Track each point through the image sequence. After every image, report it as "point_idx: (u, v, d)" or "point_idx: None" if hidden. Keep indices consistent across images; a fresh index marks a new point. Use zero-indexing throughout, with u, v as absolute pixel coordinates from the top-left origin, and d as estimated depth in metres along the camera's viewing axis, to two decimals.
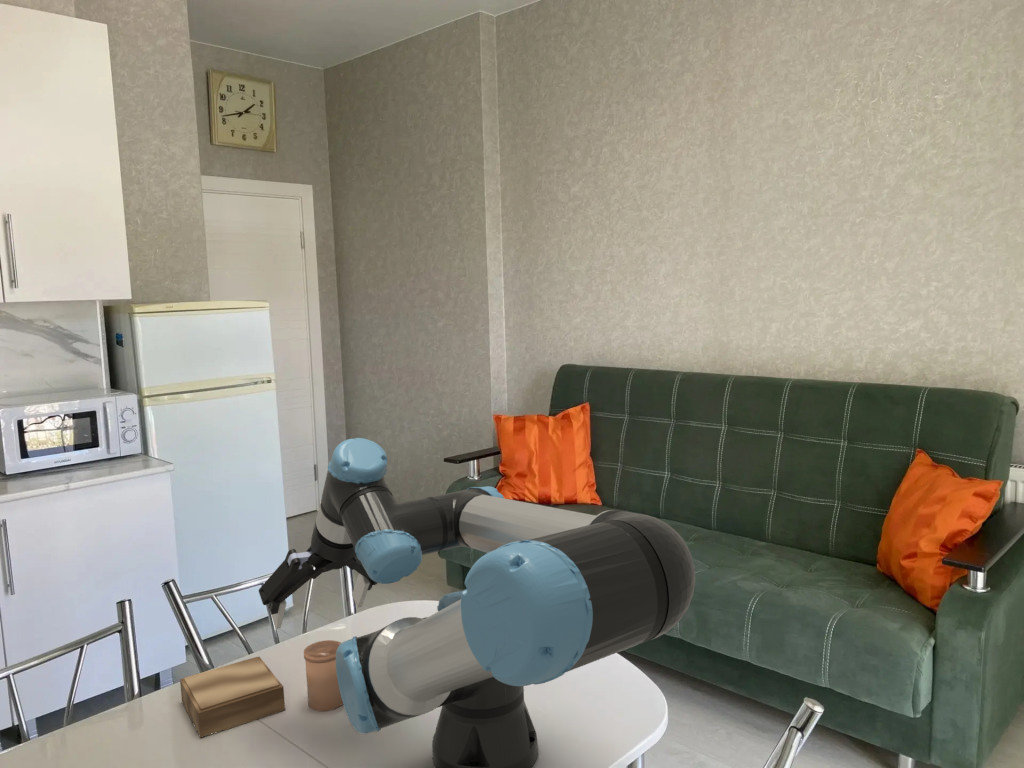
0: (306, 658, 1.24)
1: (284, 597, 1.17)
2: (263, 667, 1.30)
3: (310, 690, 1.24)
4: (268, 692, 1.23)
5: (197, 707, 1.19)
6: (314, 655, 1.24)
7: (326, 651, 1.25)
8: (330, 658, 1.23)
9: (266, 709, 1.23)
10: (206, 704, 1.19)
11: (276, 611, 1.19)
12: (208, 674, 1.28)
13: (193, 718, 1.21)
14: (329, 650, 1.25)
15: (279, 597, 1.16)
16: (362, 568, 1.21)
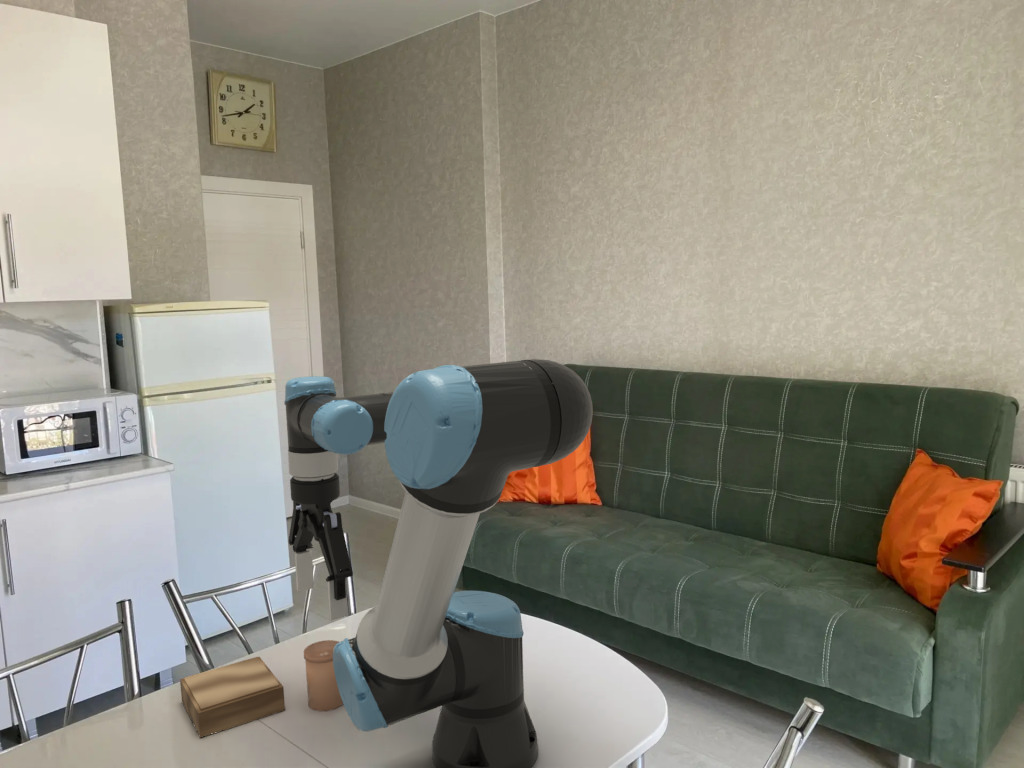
0: (306, 658, 1.24)
1: (295, 545, 1.29)
2: (263, 667, 1.30)
3: (310, 690, 1.24)
4: (268, 692, 1.23)
5: (197, 707, 1.19)
6: (314, 655, 1.24)
7: (326, 651, 1.25)
8: (330, 658, 1.23)
9: (266, 709, 1.23)
10: (206, 704, 1.19)
11: None
12: (208, 674, 1.28)
13: (193, 718, 1.21)
14: (329, 650, 1.25)
15: None
16: (323, 548, 1.19)
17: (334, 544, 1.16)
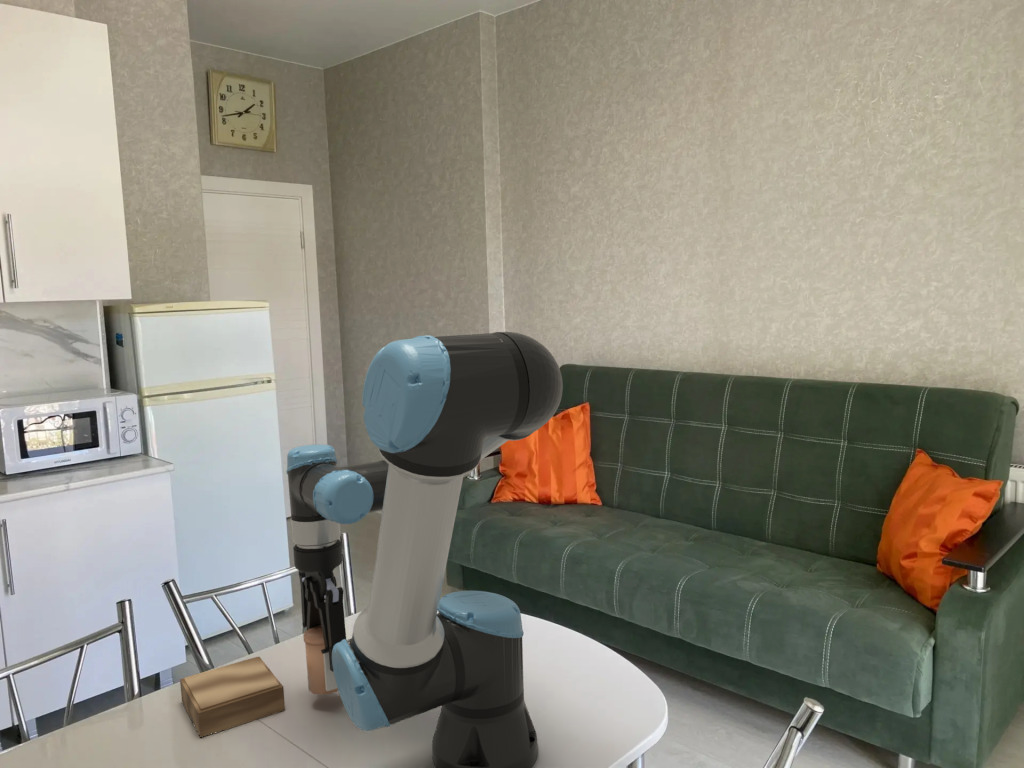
0: (306, 641, 1.23)
1: (308, 625, 1.28)
2: (263, 667, 1.30)
3: (310, 673, 1.23)
4: (268, 692, 1.23)
5: (197, 707, 1.19)
6: (314, 638, 1.23)
7: None
8: None
9: (266, 709, 1.23)
10: (206, 704, 1.19)
11: None
12: (208, 674, 1.28)
13: (193, 718, 1.21)
14: None
15: (307, 625, 1.28)
16: (322, 619, 1.22)
17: (333, 619, 1.19)
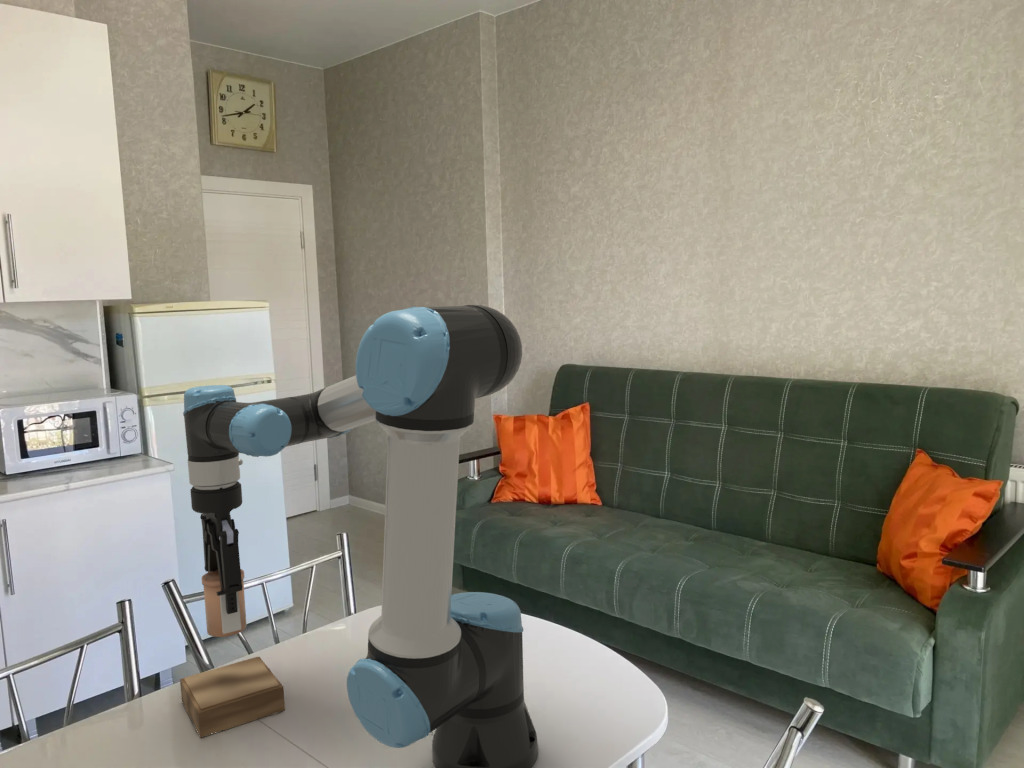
0: (203, 583, 1.22)
1: (208, 569, 1.26)
2: (263, 667, 1.30)
3: (208, 615, 1.22)
4: (268, 692, 1.23)
5: (197, 707, 1.19)
6: (211, 580, 1.22)
7: None
8: None
9: (266, 709, 1.23)
10: (206, 704, 1.19)
11: None
12: (208, 674, 1.28)
13: (193, 718, 1.21)
14: None
15: None
16: (218, 561, 1.20)
17: (227, 561, 1.18)
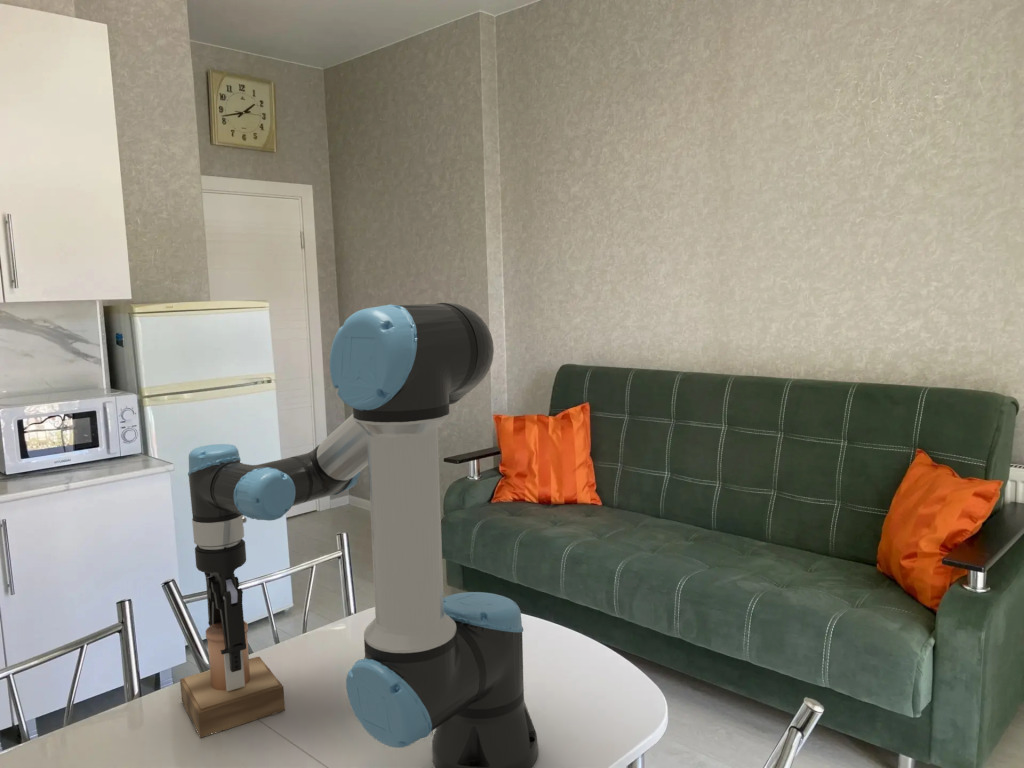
0: (207, 637, 1.23)
1: (212, 624, 1.27)
2: (263, 667, 1.30)
3: (212, 669, 1.23)
4: (268, 692, 1.23)
5: (197, 707, 1.19)
6: (215, 634, 1.23)
7: None
8: None
9: (266, 709, 1.23)
10: (206, 704, 1.19)
11: None
12: (208, 674, 1.28)
13: (193, 718, 1.21)
14: None
15: (212, 624, 1.28)
16: (222, 619, 1.21)
17: (231, 620, 1.19)
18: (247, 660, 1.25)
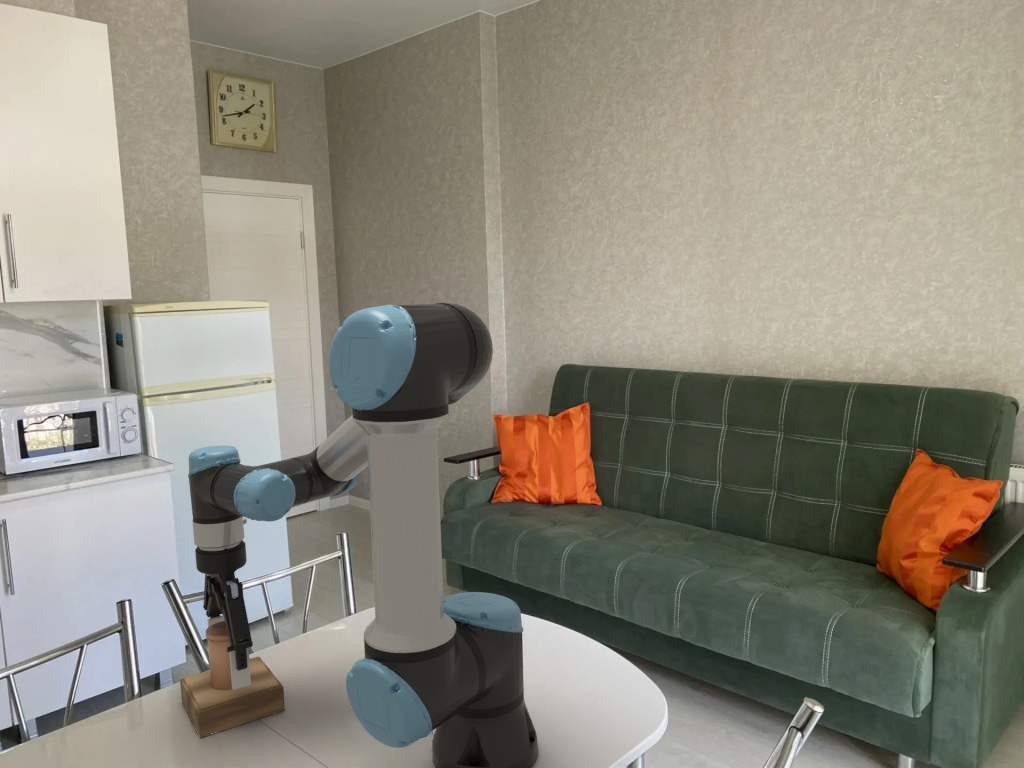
0: (207, 637, 1.23)
1: (208, 610, 1.30)
2: (263, 667, 1.30)
3: (212, 669, 1.23)
4: (268, 692, 1.23)
5: (197, 707, 1.19)
6: (215, 634, 1.23)
7: None
8: None
9: (266, 709, 1.23)
10: (206, 704, 1.19)
11: None
12: (208, 674, 1.28)
13: (193, 718, 1.21)
14: None
15: None
16: (225, 617, 1.19)
17: (234, 615, 1.17)
18: None
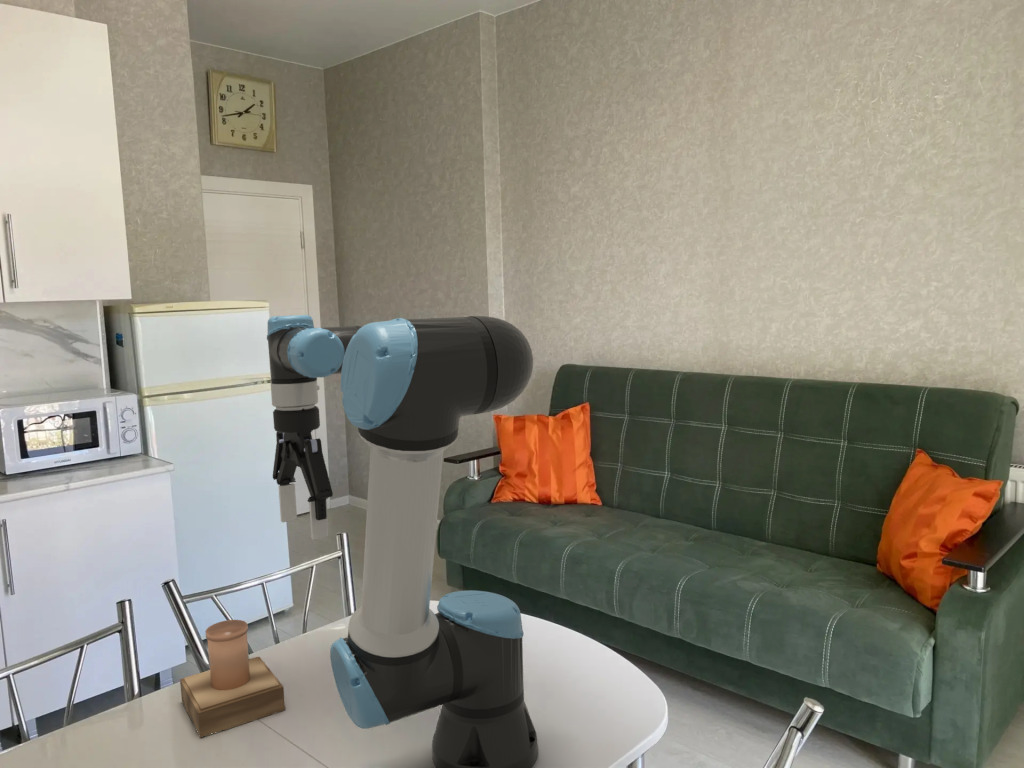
0: (207, 637, 1.23)
1: (279, 477, 1.37)
2: (263, 667, 1.30)
3: (212, 669, 1.23)
4: (268, 692, 1.23)
5: (197, 707, 1.19)
6: (215, 634, 1.23)
7: (228, 630, 1.24)
8: (231, 636, 1.22)
9: (266, 709, 1.23)
10: (206, 704, 1.19)
11: None
12: (208, 674, 1.28)
13: (193, 718, 1.21)
14: (231, 629, 1.24)
15: (278, 476, 1.38)
16: (304, 472, 1.27)
17: (315, 467, 1.25)
18: (247, 660, 1.25)
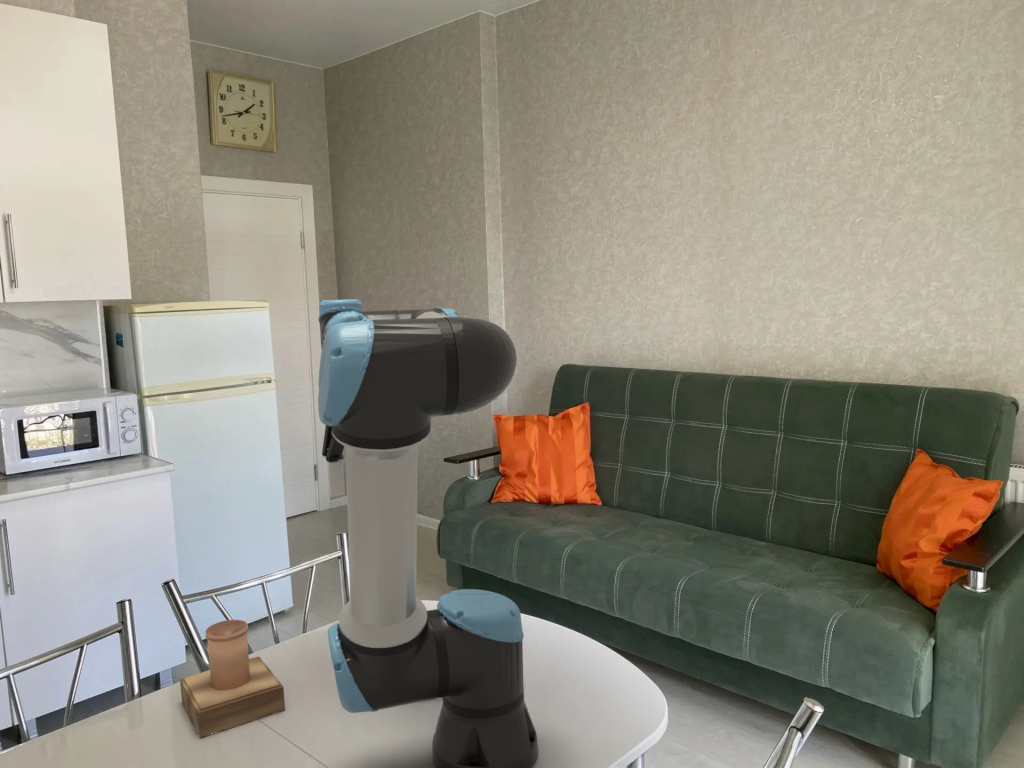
0: (207, 637, 1.23)
1: (328, 454, 1.44)
2: (263, 667, 1.30)
3: (212, 669, 1.23)
4: (268, 692, 1.23)
5: (197, 707, 1.19)
6: (215, 634, 1.23)
7: (228, 630, 1.24)
8: (231, 636, 1.22)
9: (266, 709, 1.23)
10: (206, 704, 1.19)
11: None
12: (208, 674, 1.28)
13: (193, 718, 1.21)
14: (231, 629, 1.24)
15: (327, 453, 1.44)
16: None
17: None
18: (247, 660, 1.25)
